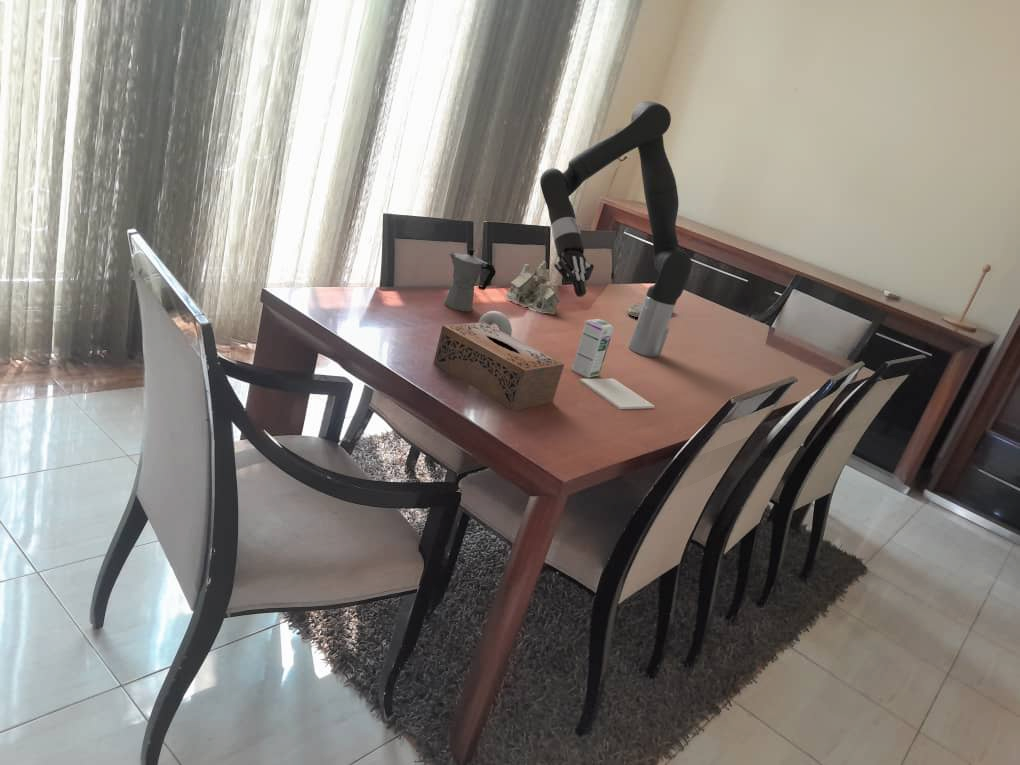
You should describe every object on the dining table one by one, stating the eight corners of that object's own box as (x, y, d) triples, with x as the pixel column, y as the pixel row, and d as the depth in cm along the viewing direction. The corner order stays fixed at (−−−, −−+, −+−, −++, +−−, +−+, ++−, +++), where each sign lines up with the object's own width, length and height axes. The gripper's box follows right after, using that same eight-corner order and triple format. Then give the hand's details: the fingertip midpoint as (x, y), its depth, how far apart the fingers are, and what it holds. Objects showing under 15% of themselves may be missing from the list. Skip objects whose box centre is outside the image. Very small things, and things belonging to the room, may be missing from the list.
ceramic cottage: (501, 293, 253) (515, 252, 247) (544, 302, 259) (558, 262, 253) (513, 311, 240) (528, 268, 234) (558, 320, 246) (574, 279, 240)
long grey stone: (677, 318, 297) (654, 311, 301) (681, 305, 295) (658, 298, 300) (644, 322, 267) (619, 314, 272) (648, 308, 266) (623, 300, 270)
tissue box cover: (552, 403, 172) (564, 364, 169) (513, 412, 161) (525, 370, 158) (474, 359, 186) (483, 322, 183) (433, 364, 175) (442, 325, 172)
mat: (579, 380, 191) (580, 378, 191) (612, 380, 198) (613, 378, 198) (619, 409, 179) (620, 407, 179) (653, 408, 186) (654, 405, 186)
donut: (471, 341, 198) (480, 306, 194) (477, 339, 201) (487, 304, 197) (502, 355, 194) (512, 319, 190) (508, 353, 197) (518, 317, 193)
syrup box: (588, 378, 194) (605, 327, 189) (570, 369, 197) (586, 318, 192) (599, 375, 199) (615, 325, 194) (581, 367, 202) (597, 317, 197)
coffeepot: (432, 301, 222) (445, 243, 216) (445, 297, 231) (458, 241, 225) (478, 318, 219) (493, 260, 212) (489, 313, 227) (504, 256, 221)
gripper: (557, 228, 197) (571, 287, 192) (594, 234, 205) (608, 291, 200) (540, 241, 202) (554, 299, 198) (576, 247, 210) (590, 303, 206)
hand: (581, 295), depth 199 cm, fingers closed
